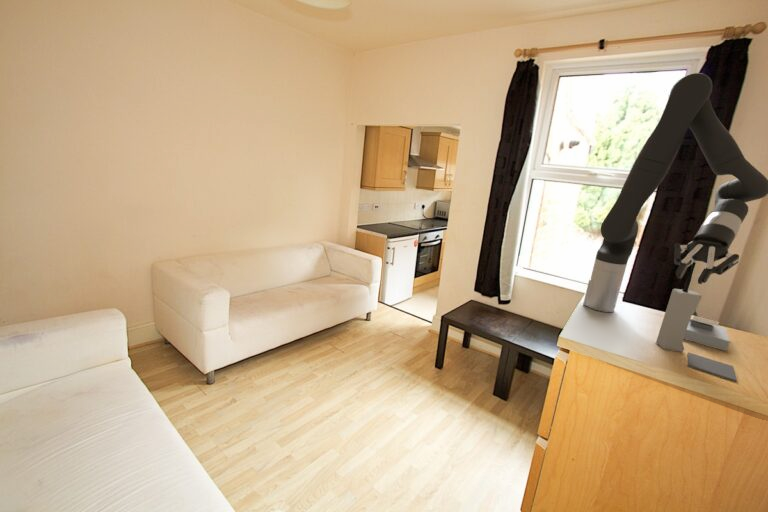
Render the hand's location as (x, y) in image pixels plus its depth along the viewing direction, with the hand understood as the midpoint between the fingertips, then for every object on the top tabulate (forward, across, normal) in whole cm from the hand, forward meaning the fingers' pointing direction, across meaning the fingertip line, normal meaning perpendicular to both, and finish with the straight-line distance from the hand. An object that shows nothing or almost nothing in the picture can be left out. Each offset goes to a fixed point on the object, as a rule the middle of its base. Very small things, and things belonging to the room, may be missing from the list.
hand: (689, 279), depth 92 cm
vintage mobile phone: (+13, 0, +16) cm, 21 cm away
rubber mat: (+15, +10, +14) cm, 23 cm away
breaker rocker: (-4, +2, +26) cm, 26 cm away
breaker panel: (0, +2, +29) cm, 29 cm away
